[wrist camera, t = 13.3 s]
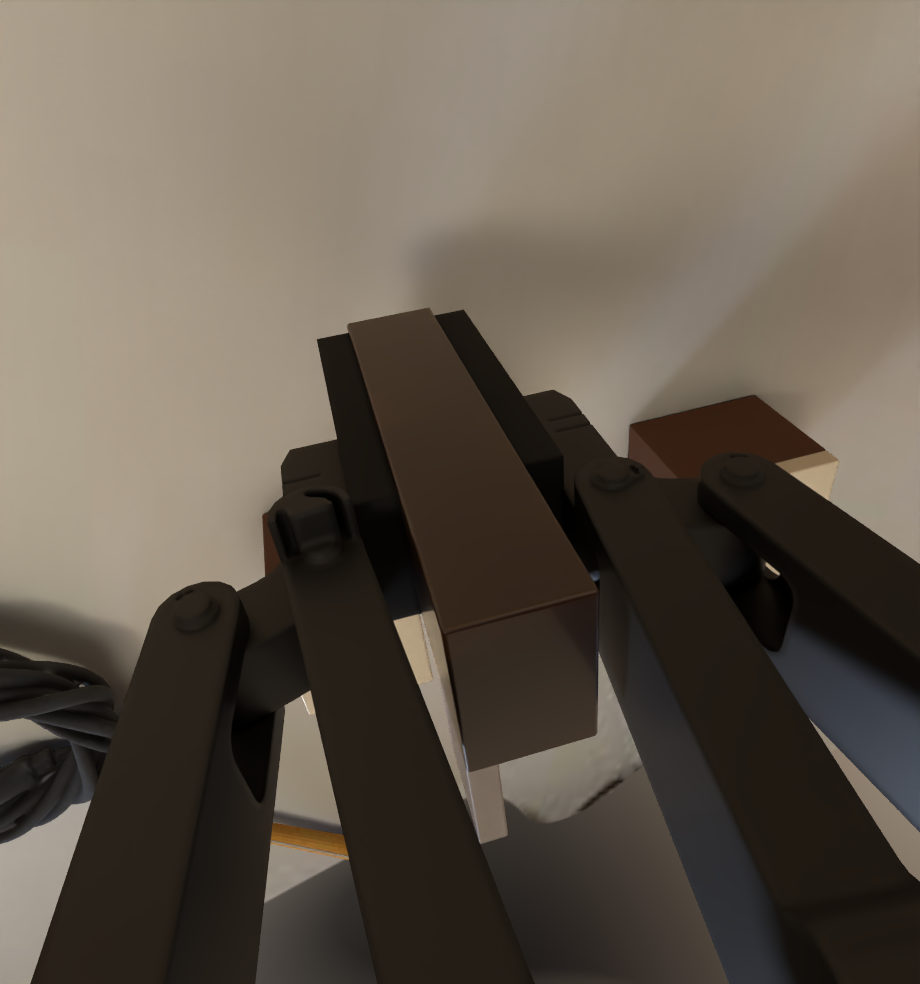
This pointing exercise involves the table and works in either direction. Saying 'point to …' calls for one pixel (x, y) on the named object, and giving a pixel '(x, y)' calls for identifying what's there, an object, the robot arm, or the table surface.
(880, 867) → the robot arm
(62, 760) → the cable
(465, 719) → the long brown beam
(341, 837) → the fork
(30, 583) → the table surface
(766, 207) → the table surface
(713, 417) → the cake
